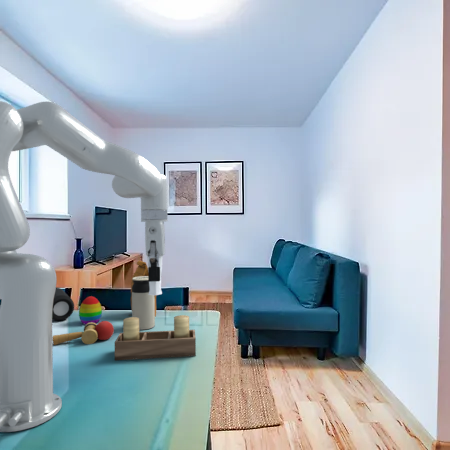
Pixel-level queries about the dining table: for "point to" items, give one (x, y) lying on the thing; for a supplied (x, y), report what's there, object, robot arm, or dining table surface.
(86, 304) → the decorative egg
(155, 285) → the white faceted vase
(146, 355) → the wooden condiment caddy
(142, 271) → the coffee package
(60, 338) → the kendama
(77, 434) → the dining table surface
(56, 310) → the portable speaker
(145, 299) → the travel mug
